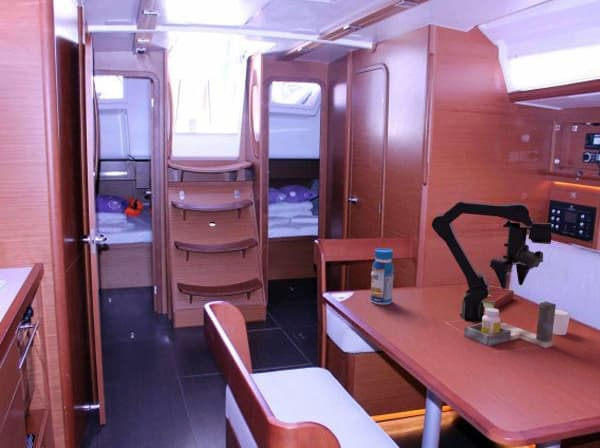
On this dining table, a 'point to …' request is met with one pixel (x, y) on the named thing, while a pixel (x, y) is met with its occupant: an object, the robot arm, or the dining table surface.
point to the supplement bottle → (491, 321)
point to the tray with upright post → (519, 330)
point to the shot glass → (560, 322)
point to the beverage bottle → (382, 277)
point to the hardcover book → (497, 297)
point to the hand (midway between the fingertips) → (512, 286)
